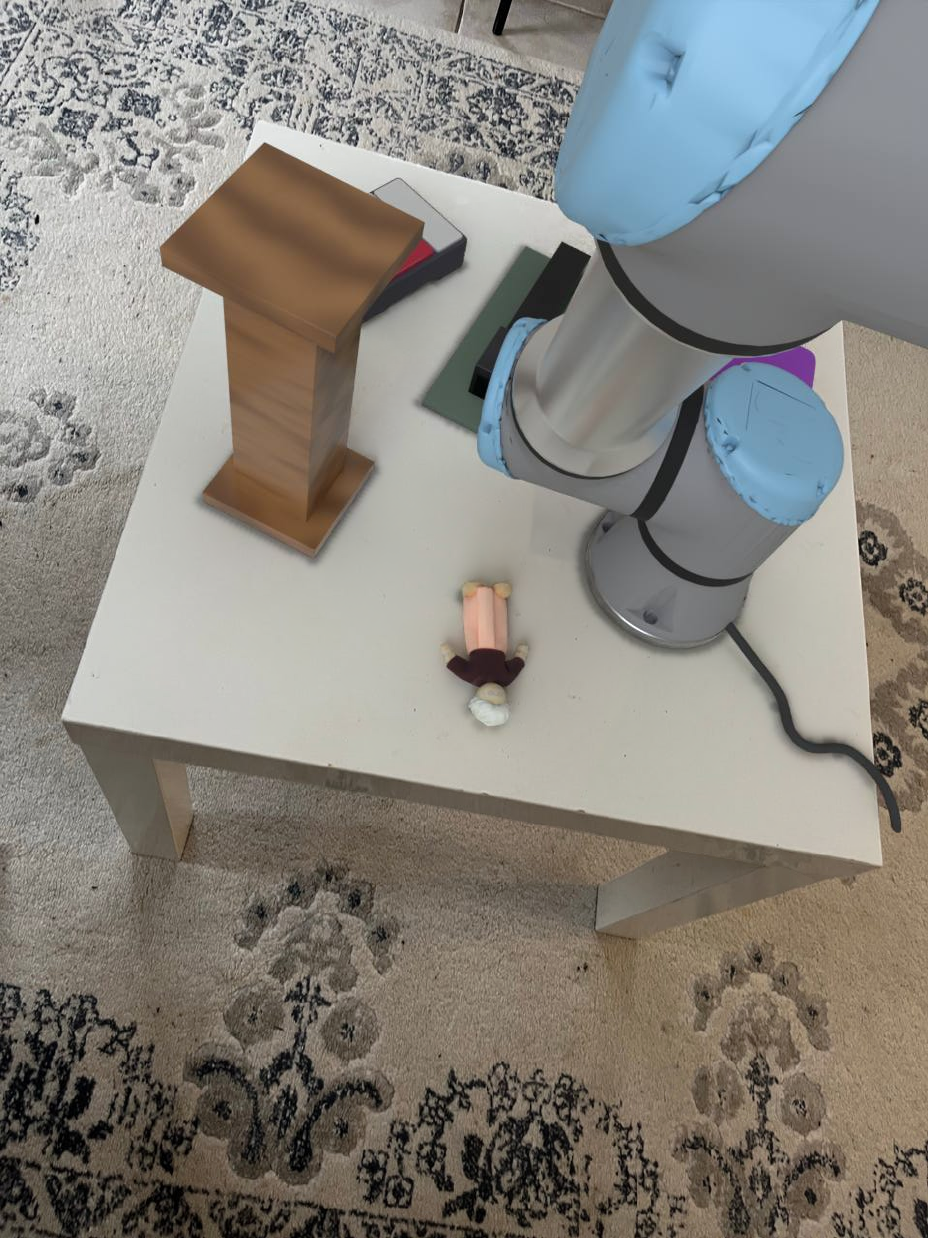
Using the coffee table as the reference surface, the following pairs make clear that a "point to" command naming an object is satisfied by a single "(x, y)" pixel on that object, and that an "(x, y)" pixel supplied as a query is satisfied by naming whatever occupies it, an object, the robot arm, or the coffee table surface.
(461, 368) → the mat
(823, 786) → the coffee table surface
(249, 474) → the stand
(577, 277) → the black square bar
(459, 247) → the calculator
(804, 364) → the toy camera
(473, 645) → the grandmother figurine
